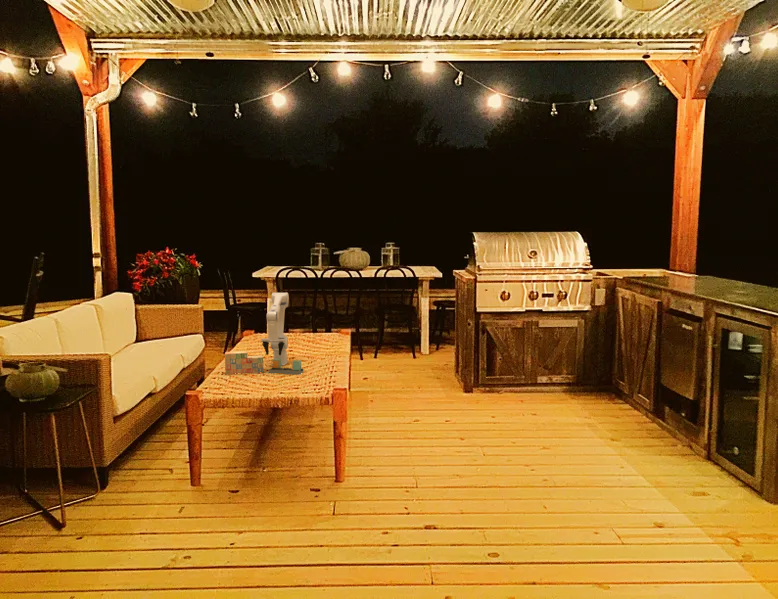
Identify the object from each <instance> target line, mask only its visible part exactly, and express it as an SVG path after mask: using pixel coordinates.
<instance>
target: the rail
mask: <svg viewBox="0 0 778 599" xmlns="http://www.w3.org/2000/svg"><path fill="white" fill-rule="evenodd" d="M267 371H268V374H269V373H283V374H282V375H299V374H301V373H302V374H303V373H304V371H305V370H304V368H302V360H301V359H294V360H293V361H291V367H281V368H272V367H270V368H269V369H268V370H267Z"/></svg>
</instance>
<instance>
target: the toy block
mask: <svg viewBox="0 0 778 599" xmlns="http://www.w3.org/2000/svg"><path fill="white" fill-rule="evenodd" d="M271 361H272V363H271V364H272V365H271V366H272V367H271V368H282V365H281V359H274V358H273V359H272V360H271Z"/></svg>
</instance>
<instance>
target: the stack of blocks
mask: <svg viewBox="0 0 778 599" xmlns="http://www.w3.org/2000/svg"><path fill="white" fill-rule="evenodd" d="M224 364H225V365H224V366H225V367H224V368H225V369H224V370H225V375H226V374H230V375H239V374H238V373H251V374H261V373H260V372H263V373H264V357H263V355H248V351H247V350H242V351H241V350H240V351H239V350H238V351H225V353H224ZM235 373H236V374H235Z"/></svg>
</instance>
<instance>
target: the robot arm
mask: <svg viewBox="0 0 778 599" xmlns="http://www.w3.org/2000/svg"><path fill="white" fill-rule="evenodd" d="M289 295H290V294H289V293H288V292H272V293H271V296H270V297H271V302H272V304H271V305H270V308H269V311H268V312H267V313H266V321H267V322H266V323H267V329H268V330H267V338H260V342H261V344H262V347H263V348H264V350H265V355H266V356H268V355H269V353H270V352H269V348H270V349H271V350H272V351H273V359H281V366H285V365H286V364H288V363H289V361H288V353H287V349H288V346H289V341H288V340H289V339H288V337H287V335H286V334H285V333H284V328H285V327H284V325H285V312H286V311H285V310H286V308H288V307H289V301H290V297H289ZM269 345H270V347H269ZM271 366H272V363H271Z"/></svg>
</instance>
